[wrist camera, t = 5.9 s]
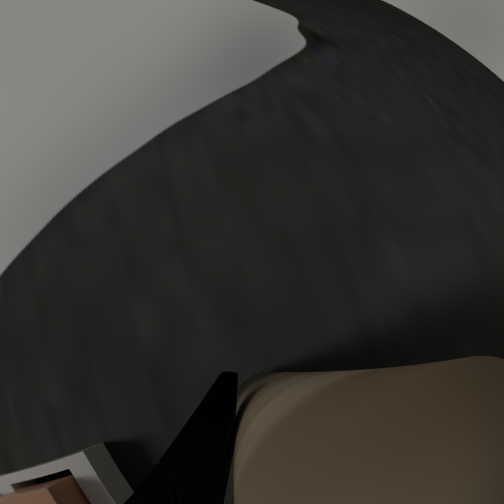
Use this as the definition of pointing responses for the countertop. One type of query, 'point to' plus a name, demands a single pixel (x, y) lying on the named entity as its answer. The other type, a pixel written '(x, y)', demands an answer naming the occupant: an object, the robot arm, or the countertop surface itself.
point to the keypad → (78, 475)
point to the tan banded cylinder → (373, 435)
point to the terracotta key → (48, 493)
